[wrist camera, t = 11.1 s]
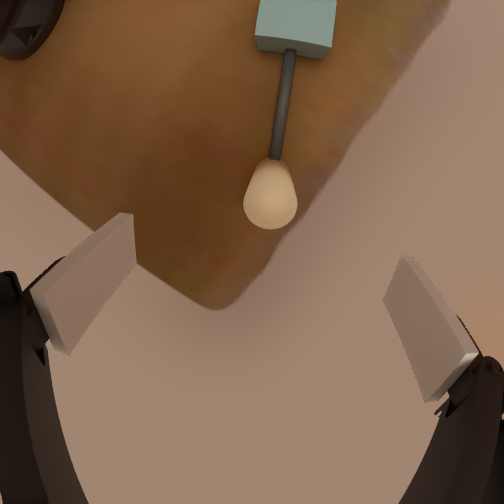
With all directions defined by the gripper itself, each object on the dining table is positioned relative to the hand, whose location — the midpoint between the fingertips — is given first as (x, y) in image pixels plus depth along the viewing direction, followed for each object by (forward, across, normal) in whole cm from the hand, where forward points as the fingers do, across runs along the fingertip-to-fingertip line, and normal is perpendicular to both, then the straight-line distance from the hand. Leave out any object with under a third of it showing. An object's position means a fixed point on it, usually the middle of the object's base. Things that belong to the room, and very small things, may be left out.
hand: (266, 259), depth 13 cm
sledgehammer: (+21, 0, +10) cm, 23 cm away
